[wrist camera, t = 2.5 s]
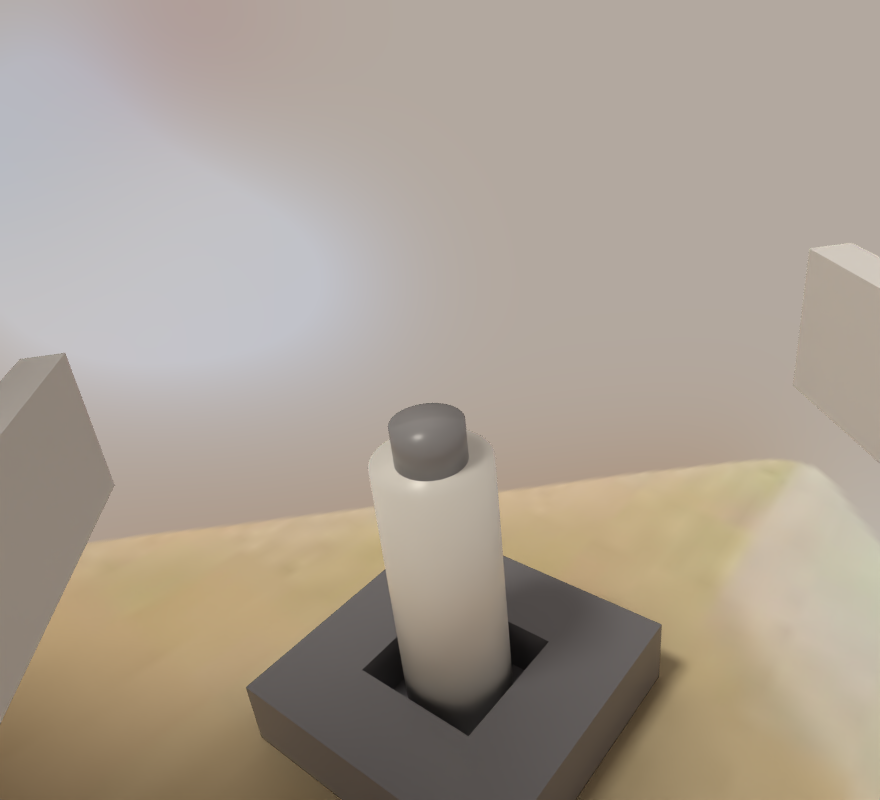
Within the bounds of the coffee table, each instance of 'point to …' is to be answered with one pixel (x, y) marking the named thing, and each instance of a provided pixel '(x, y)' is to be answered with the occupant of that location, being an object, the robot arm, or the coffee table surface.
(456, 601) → the plug
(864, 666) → the coffee table surface
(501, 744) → the socket block
